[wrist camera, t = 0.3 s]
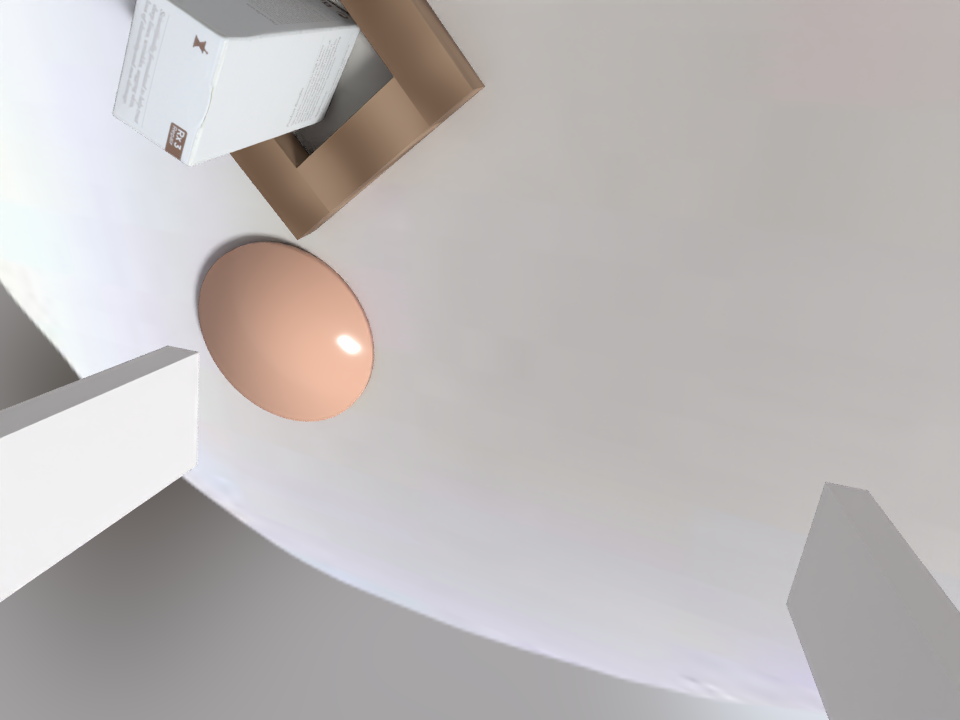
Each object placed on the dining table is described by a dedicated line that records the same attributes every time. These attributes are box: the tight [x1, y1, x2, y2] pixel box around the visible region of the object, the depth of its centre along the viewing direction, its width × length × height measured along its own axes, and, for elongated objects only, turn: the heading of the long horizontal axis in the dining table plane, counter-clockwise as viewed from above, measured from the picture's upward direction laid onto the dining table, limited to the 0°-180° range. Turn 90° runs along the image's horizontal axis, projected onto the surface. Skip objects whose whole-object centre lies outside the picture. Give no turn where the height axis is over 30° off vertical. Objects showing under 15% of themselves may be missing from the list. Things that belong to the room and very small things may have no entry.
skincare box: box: [112, 0, 360, 167], centre depth 32 cm, size 6×4×12 cm
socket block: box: [230, 0, 485, 240], centre depth 37 cm, size 14×14×2 cm
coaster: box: [199, 241, 374, 421], centre depth 46 cm, size 13×13×1 cm
